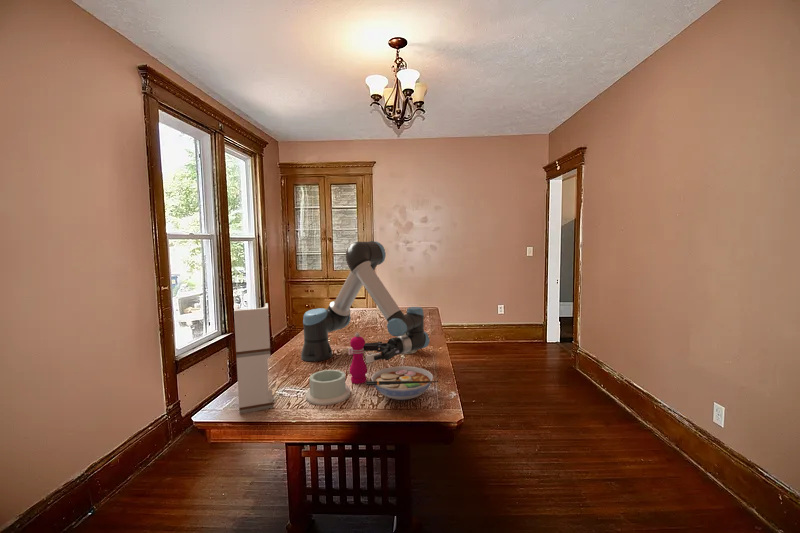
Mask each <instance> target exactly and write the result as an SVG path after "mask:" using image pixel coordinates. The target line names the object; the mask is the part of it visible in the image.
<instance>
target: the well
mask: <svg viewBox="0 0 800 533" xmlns="http://www.w3.org/2000/svg"><path fill="white" fill-rule="evenodd" d="M308 382H309V389H308V390H307V391H306V394H305V396H306V397H305V398H306V401H307V402H308V403H309V402H310V403H309V404H311V403H312V405H316V406H331V405H335V404H339V403H342V402H344V401H346V400H347V399H348V398H349V397H350V395H351V389H350V387H349V386H348V385H347V384H346V372H344V371H343V370H339V369H324V370H319V371H316V372H314V373H313V374H311V375H310V376H309V380H308Z"/></svg>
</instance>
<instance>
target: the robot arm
mask: <svg viewBox="0 0 800 533" xmlns="http://www.w3.org/2000/svg"><path fill="white" fill-rule="evenodd" d="M386 256H387V255H386V249H385V247H384V245H383V244H381V243H380V242H378V241H373V240H370V241H354V242H352V243H350V245H349V246H348V247H347V249H346V252H345V261H346V264H347V266H348V268H349V270H350V272H349V273H348V276H347V277H346V279H345V281H344V283H343V285H342V287H341V288H340V290H339V292H338V295H337V296H336V297H335V300H332V301H331V302H330V303H329V305H328V306H327V309H326V308H323V307H321V308H319V307H317V308H312V309H309V310H307V311H305V313H304V314H303V318H302V319H303V320H302V324H303V339H304V340H303V342H304V343H303V346H302V349H301V354H300V358H301V360H302V361H305V362H321V361H325V360H329V359H331V358H332V357H333V350H332V347H331V344H330V342H329V333H332V332H335V331H338V330H343V328H346V327H347V326H348V325H349V324H350V321H351V319H352V318H351V307H352V305H353V303H354V302H355V299H356V298H357V296H358V295H359V292H360V291H361V288H362V287H364V288H365V290H366V291H367V293H368V294H369V296H370V297H371V300H373V302H374V303H375V306H377V308H378V309H379V311H380V313H381V314H382V315H383V317H384V318H385V320H386V321H387V324H386V328H387V332H388V333H389V335H390V336H393V337H391V338H389V339H388V341H387V342H382V341H378V342H365V345H364V347H363V348H364V352H377V353H373V354H369V355H368V354H367V355H365V364H368V363H373V362H377V361H386V362H387V361H389V360H390V359H392V358H394V357H395V356H398V355H406V354H405V353H406V352H410V351H414V350H417V351H418V350H422V349H425V348H427V347H428V346H429V344H430V337H429V334H428V333H427V332H426V331H424V330H425V323H424V322H425V321H424V320H425V318H424V317H425V315H424V314H425V313H424V308H423V307H421V306H410V307H408V308H407V309H406V314H404V312H403V311H402V310H401V309H400V307H399V305H398V304H397V302H396V301H395V300H394V298H393V297H392V295H391V293H390V291H389V290H388V289H387V287H386V286H385V285H384V283H383V281H381V279H380V277H379V276H378V274H377V273H376V271H375V269H376V267H377V266H379V265H381V264H382V263H384V262H385V261H386V260H385V259H386ZM407 332H408V335H404V334H405V333H407ZM400 335H403V336H400ZM397 336H399V337H397ZM347 349H348V356H351V355H352V356H353V353H352V347H348V348H347ZM402 353H403V354H402Z"/></svg>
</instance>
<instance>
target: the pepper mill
mask: <svg viewBox="0 0 800 533" xmlns="http://www.w3.org/2000/svg"><path fill="white" fill-rule="evenodd" d="M349 342H350V343H349V346H350V348H352V353H353V354H352V361H351V364H350V366H349V374H350V375H351V377H350V383H352V384H356V385H360V384H364V383H366V382H367V375H366V374H367V373H368V367H367V363H366V361H365V359H364V352H365V351H364V348H363V347H364V345H365V343H366V341H365V339H364V338H363V336H360V333H359V332H355V334H354V336H353V337H352V338H351V339H350V341H349Z"/></svg>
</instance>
